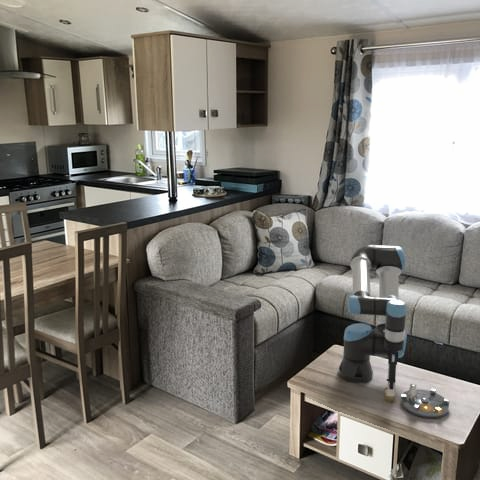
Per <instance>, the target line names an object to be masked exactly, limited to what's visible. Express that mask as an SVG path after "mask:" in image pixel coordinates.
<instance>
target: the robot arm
mask: <svg viewBox="0 0 480 480" xmlns="http://www.w3.org/2000/svg"><path fill="white" fill-rule="evenodd" d="M405 260H406V258H405V252H404V250H403V248H402V247H401V246H398V245H384V244H383V245H381V244H367V245H366V244H365V245H363V246H361V247H359V248H358V249H357V250H356V251H355V252H354V253H353V254H352V256H351V257H350V268H351V271H352V295H348V303H347V312H348V313H349V314H353V315H354V314H356V315H369V316H379V317H378V318H379V319H378V321H379V322H378V323H377V324H376V325H375V329H373V328H372V326H371V325H369V324H366V323H362V322H361V323H360V322H359V323H353V324H350V325H348V326H347V327H346V328H345V330H344V335H343V352H342V353H343V356H342V359H341V362H340V365H339V367H338V376H339V377H340V378H342V379H343V380H344V381H347V382H351V383H356V384H360V383H361V384H363V383H368V382H370V381H371V380H372V379H373V376H374V370H373V369H372V368H373V367H372V364H371V356H372V357H381V358H387V359H388V360H387V361H388V362H387V363H388V366H387V378H386V382H387V387H388V389H387V396H394V392H395V393H396V391H395V390H396V382H397V381H396V374H397V372H396V371H397V365H398V358H399V359H400V358H402V357H404V355H405V351H406V345H407V338H408V335H407V334H408V333H407V331H406V328H405V327H406V319H407V317H406V315H407V303H406V302H405V301H403V300H401V299H400V297H399V294H400V293H399V292H400V291H399V276H400V275H401V274H402V272H403V271H404V270H405V268H406V266H405V265H406V261H405ZM370 270H375V274H376V275H377V276H379V277H378V280H379V282H378V285H379V289H378V292H379V294H378V296H371V295H372V294H371V278H370Z"/></svg>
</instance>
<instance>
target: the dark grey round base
mask: <svg viewBox="0 0 480 480" xmlns="http://www.w3.org/2000/svg"><path fill="white" fill-rule="evenodd" d="M408 389H409V390H406V391H404V392H403V393H401V395H400V404H401V407H402V408H403V409H404V410H405V411H406V412H408V413H410V414H411V415H414V416H417V417H419V418H424V419H425V418H426V419H440V418H443V417H445V416H446V415H448V413H449V409H450V408H449V406H450V399H449V398H448V399H447V398H445V397H444V396H442V395H441V394H439V393H437V389H436V388H431V389H430V390H426V389H420V388H418V387H417V384H415V383H410V385H409V387H408Z"/></svg>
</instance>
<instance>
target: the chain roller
mask: <svg viewBox="0 0 480 480" xmlns="http://www.w3.org/2000/svg"><path fill="white" fill-rule="evenodd" d="M387 389H388V386H386V387H385V391H384V401H385V402H386V403H389V404H391V403H395V400H396V389H395V392H394V396H387Z"/></svg>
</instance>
